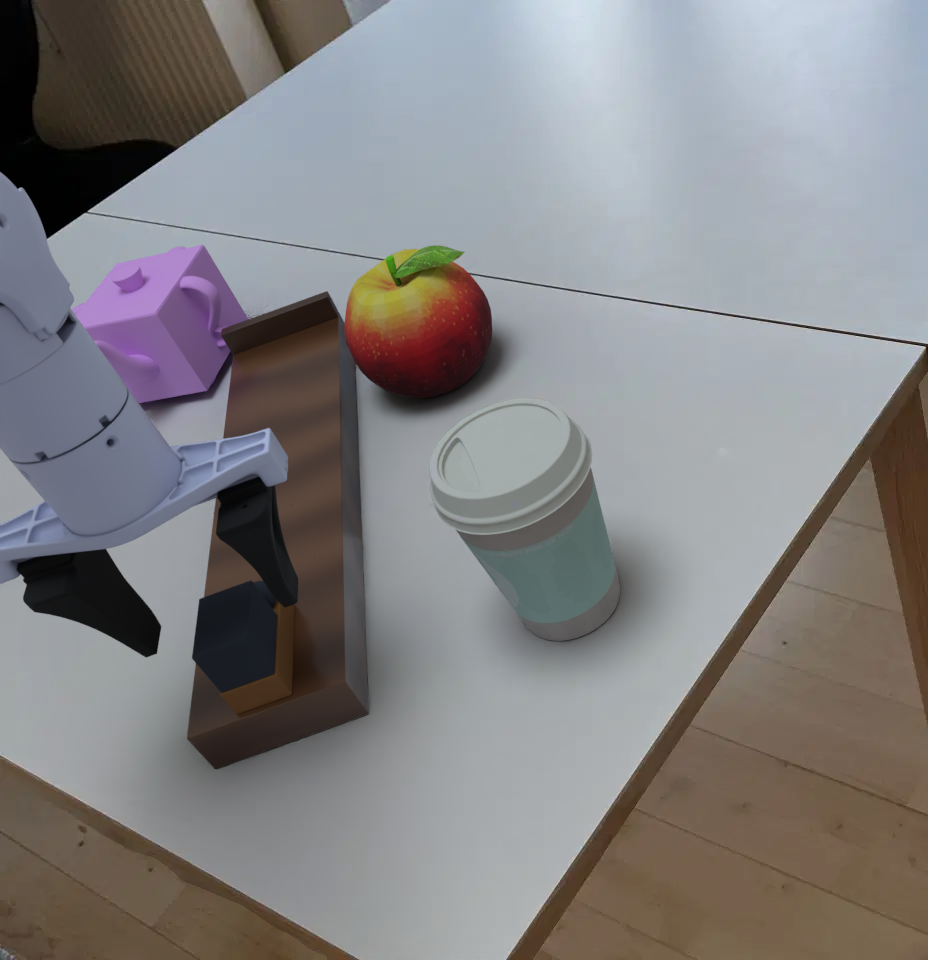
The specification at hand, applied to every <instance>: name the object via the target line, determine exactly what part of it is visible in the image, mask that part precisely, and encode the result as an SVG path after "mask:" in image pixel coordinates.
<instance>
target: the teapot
mask: <svg viewBox="0 0 928 960" xmlns="http://www.w3.org/2000/svg"><path fill="white" fill-rule="evenodd" d="M71 310H72V311H73V313H74V314H75V315H76V317H77V318H78V320H79V321H80V322H81V324H82V325H83V327H84V328H85V329H86V331H87V332H88V334H89V335H90V336H91V338H92V339H93V340H94V342H95V343H96V345H97V346H98V347H99V349H100V350H101V352H102V353H103V354H104V356H105V357H106V358H107V360H108V361H109V363H110V364H111V365H112V367H113V368H114V369H115V371H116V372H117V373H118V375H119V376H120V378H121V379H122V380H123V382H124V383H125V385H126V386H127V388H128V389H129V391H130V392H131V393H132V395H133V396H134V398H135V399H136V400H137V402H138V403H139V404H141V403H148V402H153V401H159V400H163V399H170V398H174V397H181V396H187V395H192V394H198V393H202V392H208V391H209V389H210V387H211V386H212V385H214V383H215V382H216V379H217V378H216V377H217V376H218V373H219V372H220V370H221V368H222V366H223V365H224V363H225V362H226V360H227V358H228V357H229V355H230V353H231V351H230V349H229V348H228V346H227V345H226V343H225V341H224V340H223V338H222V337H221V330H222V329H223V328H226V327H229V326H232V325H235V324H237V323H240V322H243V321H246V320H248V319H249V318H248V316H247V314H246V313H245V311H244V309H243V307H242V305H241V304H240V302H239V301H238V299H237V297H236V296H235V294H234V293H233V291H232V289H231V288H230V286H229V284H228V283H227V281H226V279H225V277H224V276H223V275H222V273H221V271H220V269H219V268H218V266H217V264H216V262H215V261H214V259H213V258H212V256H211V254H210V253H209V251H208V249H207V247H206V246H205V245H203V244H200V245H199V244H198V245H195V246H191V247H186V246H176V247H173V248H170V249H169V250H168V251H166V252H163V253H158V254H153V255H148V256H144V257H140V258H135V259H132V260H127V261H121V262H116V263H115V265H114V266H113V267H112V268H111V270H110V271H109V272H108V273H107V274H106V275H105V277H104V278H103V280H102V281H100V283H99V285H98V286H97V287H96V288H95V290H94V291H93V292H92V294H91V295H90V296H89V298H88V299H86V301H85V302H82V303H80V304H79V305H76V306H75V307H73V308H71Z"/></svg>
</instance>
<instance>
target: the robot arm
mask: <svg viewBox="0 0 928 960" xmlns="http://www.w3.org/2000/svg"><path fill="white" fill-rule="evenodd" d="M70 286H71V284H70V282H69V281H68V279H67V278H66V276H65V275H64V274H63V272H62V271H61V269H60V267H58V264H57V263H56V261H55V259H54V257H53V255H52V252H51V250H50V246H49V243H48V239H47V235H46V231H45V229H44V226H43V222H42V219H41V217H40V215H39V213H38V211H37V209H36V207H35V205H34V203H33V201H32V199H31V198H30V196H29V195H28V193H27V192H26V190H25V188H24V187H19V188H17V186H16V185H15V184H14V183H13V182H12V181H11V180H10V179H9V178H8V177H7V176H6V175H5V174H3V173H2V172H1V171H0V450H1V452H3V454H4V456H6V457H7V458H8V460H9V461H10V462H11V463H12V464H13V466H14V467H15V469H16V470H18V472H19V473H20V474H21V475H22V476H23V478H24V479H25V480H26V481H27V482H28V483H29V484H30V486H31V487H32V488H33V489H34V490H35V492H36V493H37V494H38V495H39V496H40V497H41V498H42V500H43V501H42V502H40V503H38V504H36V505H34V506H32V507H31V508H29V509H26V511H23V512H22V513H20V514H18V515H16V516H14V517H13V518H11V519H8V520H6V521H4V522H1V523H0V585H1V584H4V583H6V582H10V581H12V580H16V579H17V578H19V577H20V576H21V577H22V581H23V583H24V584H25V589H24V592H23V595H22V601H23V603H24V604H25V605H26V606H27V607H28V609H30V610H31V611H32V612H34V613H37V614H38V613H39V614H44V615H50V616H54V617H58V618H59V617H60V618H62V619H65V620H69V621H71V622H72V621H73V622H76V623H79V624H82V625H84V626H87V627H89V628H91V629H94V630H96V631H98V632H100V633H102V634H103V635H106V636H108V637H110V638H112V639H114V640H115V641H117V642H119V643H120V644H122V645H124V646H126V647H127V648H129V649H130V650H132V651H134V652H136V653H137V654H138V655H141V656H142V657H144V658H149V657H152V656H154V655H158V649H159V643H160V638H161V632H162V624H161V623H160V621H159V620H158V618H157V616H156V615H155V613H154V612H153V610H152V609H151V608H150V606H149V605H148V603H146V602H145V600H144V599H143V598H142V597H141V595H139V593H138V592H137V591H136V590H135V589H134V587H133V586H132V585H131V583H129V582H128V581H127V579H126V578H125V577H124V575H123V573H122V572H121V571H120V569H119V567H118V566H117V564H116V562H115V561H114V560H113V558H112V556H111V554H110V553H109V551H108V550H107V549H112V548H115V547H120V546H122V545H126V544H128V543H130V542H132V541H135V540H137V539H139V538H141V537H143V536H145V535H146V534H148V533H150V532H152V531H153V530H155V529H157V528H158V527H160V526H162V525H163V524H165V523H167V522H169V521H171V520H172V519H174V518H176V517H177V516H179V515H181V514H182V513H184V512H186V511H187V510H190V509H191V508H193V507H196V506H198V505H201V504H203V503H207V502H209V501H212V500H216V498H218V500H219V501H220V503H221V505H220V508H219V511H218V519H217V528H216V535H217V536H218V537H219V539H220V540H221V541H223V542H225V543H226V544H227V545H229V546H230V547H232V548H233V549H234V550H235V551H236V552H238V553H239V554H240V555H241V556H242V557H243V558H244V559H245V560H246V561H247V562H248V563H249V564H250V565H251V566H252V567H253V568H254V569H255V570H256V571H257V573H258V574H259V575H260V577H261V578H262V580H263V581H264V583H265V584H266V586H267V587H268V589H269V590H270V592H271V593H272V594H273V596H274V597H275V599H276V600H277V601H278V602H279V603H280V604H281V605H282V606H284V607H288V606H291V605H294V604H296V603H297V602H298V577H297V574H296V572H295V570H294V568H293V565H292V563H291V560H290V558H289V555H288V552H287V549H286V545H285V542H284V538H283V534H282V530H281V525H280V520H279V513H278V506H277V497H276V487H275V485H276V484H279V483H282V482H285V481H286V480H287V472H288V456H287V454H286V452H285V451H284V449H283V448H282V446H281V445H280V443H279V441H278V440H277V438H276V437H275V435H274V433H273V432H272V430H271V429H270V428H267V429H264V430H261V431H258V432H255V433H251V434H247V435H243V436H238V437H233V438H226V439H223V438H219V439H213V440H204V441H199V442H198V441H197V442H191V443H184V444H183V443H182V444H177V445H169V443H168V442H167V440H166V439H165V438H164V436H163V435H162V433H161V432H160V431H159V429H158V428H157V427H156V425H155V424H154V422H153V420H152V419H151V418H150V417H149V415H148V414H147V412H146V411H145V410H144V409H143V407H142V406H141V403H138V402H137V400H136V399H135V398H134V396H133V395H132V393H131V392H130V391H129V389H128V388H127V386H126V385H125V383H124V382H123V380H122V379H121V378H120V376H119V375H118V373H117V372H116V371H115V369H114V368H113V367H112V365H111V364H110V363H109V361H108V360H107V358H106V357H105V356H104V354H103V353H102V352H101V350H100V349H99V347H98V346H97V345H96V343H95V342H94V340H93V339H92V338H91V336H90V335H89V334H88V332H87V331H86V329H85V328H84V327H83V325H82V324H81V322H80V321H79V320H78V318H77V317H76V315H75V314H74V313H73V311H72V308H71V307H72V305H73V303H74V302H75V297H74V294H73V293H72V291H71V290H70Z"/></svg>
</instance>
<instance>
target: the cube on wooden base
mask: <svg viewBox="0 0 928 960" xmlns="http://www.w3.org/2000/svg"><path fill="white" fill-rule="evenodd" d="M197 607H198V608H197V615H196V623H195V631H194V639H193V647H192V655H191V659H192V661H194V663H195V665H196V664H197V665H198V666H199V667H200V668H201V670H202V671H203V672H204V673H205V674H206V675H207V677H208V678H209V679H210V680H211V681H212V682H213V684H214V685H215V686H216V687H217V688H218V690H219V691H220V696H221V697H222V698H223V699H224V701H225V702H226V703H227V704H228V705H229V706H230V708H231V709H232V710H233V711H234V712H235V713H236V714H240V713H243V712H246V711H249V710H251V709H254V708H257V707H260V706H262V705H265V704H268V703H271V702H274V701H276V700H279V699H282V698H285V697H287V696H290V695H292V681H293V648H294V615H295V604H294V605H291V606H288V607H284V606H282V605H281V604H280V603H279V602H278V601H277V600H276V599H275V597H274V596H273V594H272V593H271V592H270V590H269V589H268V587H267V586H266V584H265V583H264V581H256V582H252V581H248V582H245V583H242V584H239V585H237V586H234V587H231V588H228V589H225V590H223V591H220V592H217V593H214V594H212V595H209V596H206V597H204V596H203V597H201V598H199V600H198V606H197Z"/></svg>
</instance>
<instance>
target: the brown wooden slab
mask: <svg viewBox="0 0 928 960" xmlns="http://www.w3.org/2000/svg"><path fill="white" fill-rule="evenodd" d="M344 323H345V320H344V319H343V317H342V316H341V313H340V312H339V310H338V308H337V305H336V304H335V301H334V300H333V298H332V296H331V294H330V293H329V291H327V290H326V291H323V292H320V293H318V294H315V295H312V296H309V297H306V298H304V299H301V300H298V301H296V302H293V303H290V304H287V305H285V306H282V307H279V308H276V309H274V310H271V311H268V312H265V313H262V314H259V315H257V316H254V317H252V318H248V320H246V321H243V322H240V323H237V324H235V325H232V326H229V327H226V328H223V329H222V330H221V337H222V338H223V340H224V341H225V343H226V345H227V346H228V348H229V349H230V353H231V354H232V363H231V370H230V378H229V387H228V394H227V395H228V396H227V404H226V410H225V411H226V413H225V421H224V429H223V436H222V439H226V438H233V437H238V436H243V435H247V434H251V433H255V432H258V431H261V430H264V429H267V428H270V429H271V430H272V432H273V433H274V435H275V437H276V438H277V440H278V441H279V443H280V445H281V446H282V448H283V449H284V451H285V452H286V454H287V456H288V472H287V480H286V481H285V482H282V483H279V484H276V485H275V487H276V497H277V506H278V513H279V520H280V525H281V530H282V534H283V538H284V542H285V545H286V549H287V552H288V555H289V558H290V560H291V563H292V565H293V568H294V570H295V572H296V574H297V577H298V602H297V603H296V604H295V615H294V648H293V681H292V695H290V696H287V697H285V698H282V699H279V700H276V701H274V702H271V703H268V704H265V705H262V706H260V707H257V708H254V709H251V710H249V711H246V712H243V713H240V714H236V713H235V712H234V711H233V710H232V709H231V708H230V706H229V705H228V704H227V703H226V702H225V701H224V699H223V698H222V697H221V696H220V691H219V690H218V688H217V687H216V686H215V685H214V684H213V682H212V681H211V680H210V679H209V678H208V677H207V675H206V674H205V673H204V672H203V671H202V670H201V668H200V667H199V666H198V665H197V664H196V663H195V666H194V667H195V668H194V674H193V675H194V676H193V683H192V691H191V701H190V708H189V716H188V724H187V733H186V740H187V741H188V742H189V744H191V745H192V746H193V747H194V748H195V750H196V751H197V752H198V753H199V754H200V755H201V756H202V757H203V758H204V759H205V761H207V762H208V764H209V765H210V766H211V767H212V768H213V769H214V770H217V769H219V768H222V767H226V766H228V765H231V764H234V763H236V762H239V761H242V760H245V759H248V758H250V757H254V756H256V755H259V754H260V753H261V754H262V753H264V752H267V751H270V750H273V749H275V748H279V747H281V746H284V745H287V744H290V743H292V742H294V741H297V740H300V739H303V738H306V737H309V736H312V735H315V734H318V733H320V732H322V731H325V730H328V729H331V728H333V727H336V726H339V725H342V724H345V723H347V722H351V721H353V720H357V719H358V718H361V717H364V716H367V715H369V714H370V713H369V712H370V711H369V693H368V691H369V688H368V666H367V665H368V664H367V662H368V661H367V639H366V613H365V588H364V587H365V584H364V564H363V563H364V562H363V561H364V560H363V537H362V536H363V535H362V534H363V533H362V510H361V508H362V507H361V506H362V505H361V486H360V485H361V484H360V483H361V482H360V458H359V457H360V456H359V455H360V454H359V432H358V431H359V430H358V405H357V404H358V403H357V382H356V363H355V361H354V359H353V357H352V355H351V353H350V350H349V348H348V346H347V343H346V338H345V330H344ZM220 505H221V503H220V501H219V500H218V498H215V502H214V511H213V518H212V520H213V521H212V526H211V534H210V544H209V552H208V559H207V560H208V561H207V567H206V576H205V584H204V592H203V593H204V594H203V597H206V596H209V595H212V594H214V593H217V592H220V591H223V590H225V589H228V588H231V587H234V586H237V585H239V584H242V583H245V582H248V581H252V582H256V581H263V580H262V578H261V577H260V575H259V574H258V573H257V571H256V570H255V569H254V568H253V567H252V566H251V565H250V564H249V563H248V562H247V561H246V560H245V559H244V558H243V557H242V556H241V555H240V554H239V553H238V552H236V551H235V550H234V549H233V548H232V547H230V546H229V545H227V544H226V543H225V542H223V541H221V540H220V539H219V537H218V536H217V535H216V528H217V519H218V511H219V508H220Z"/></svg>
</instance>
